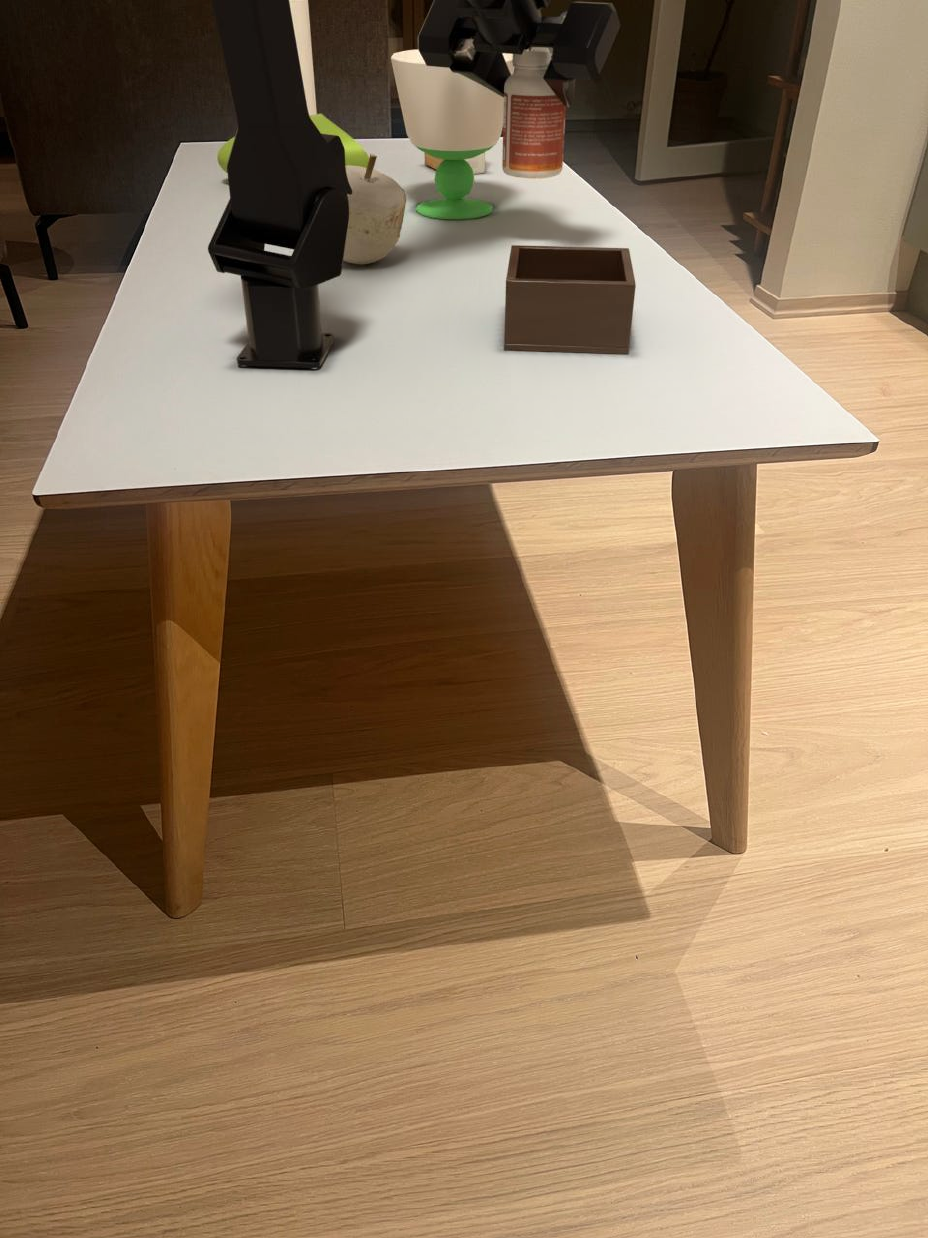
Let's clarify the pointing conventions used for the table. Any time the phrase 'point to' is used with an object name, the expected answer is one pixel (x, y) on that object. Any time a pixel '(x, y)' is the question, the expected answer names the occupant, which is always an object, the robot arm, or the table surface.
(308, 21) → the candle
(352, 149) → the green curved piece
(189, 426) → the table surface
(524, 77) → the pill bottle
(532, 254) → the brown rectangular open box
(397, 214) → the decorative object
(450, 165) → the cup
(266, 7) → the robot arm
